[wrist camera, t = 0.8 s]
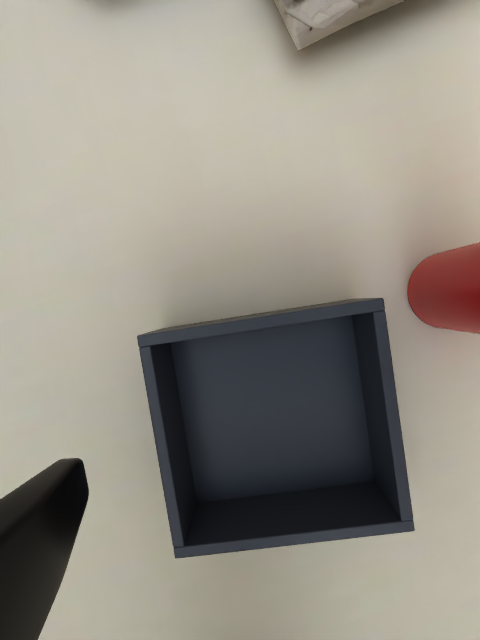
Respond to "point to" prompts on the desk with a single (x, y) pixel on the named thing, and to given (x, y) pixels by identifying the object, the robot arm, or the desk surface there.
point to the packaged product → (325, 16)
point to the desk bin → (278, 428)
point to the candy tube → (448, 289)
